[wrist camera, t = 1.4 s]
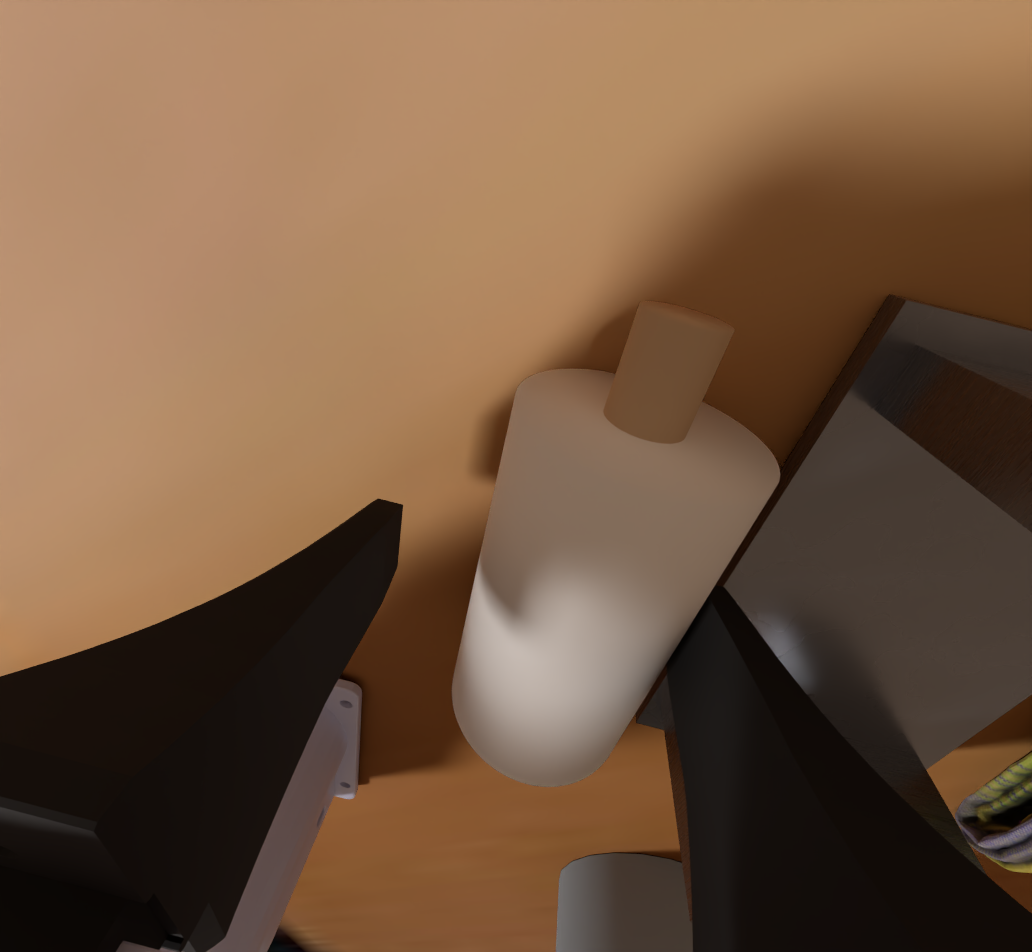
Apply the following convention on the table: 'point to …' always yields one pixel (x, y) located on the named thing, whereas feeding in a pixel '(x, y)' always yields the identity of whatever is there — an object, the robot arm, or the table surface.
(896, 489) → the roll holder
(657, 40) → the table surface
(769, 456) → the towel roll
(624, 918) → the spray bottle
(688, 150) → the table surface
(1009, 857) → the dish towel
